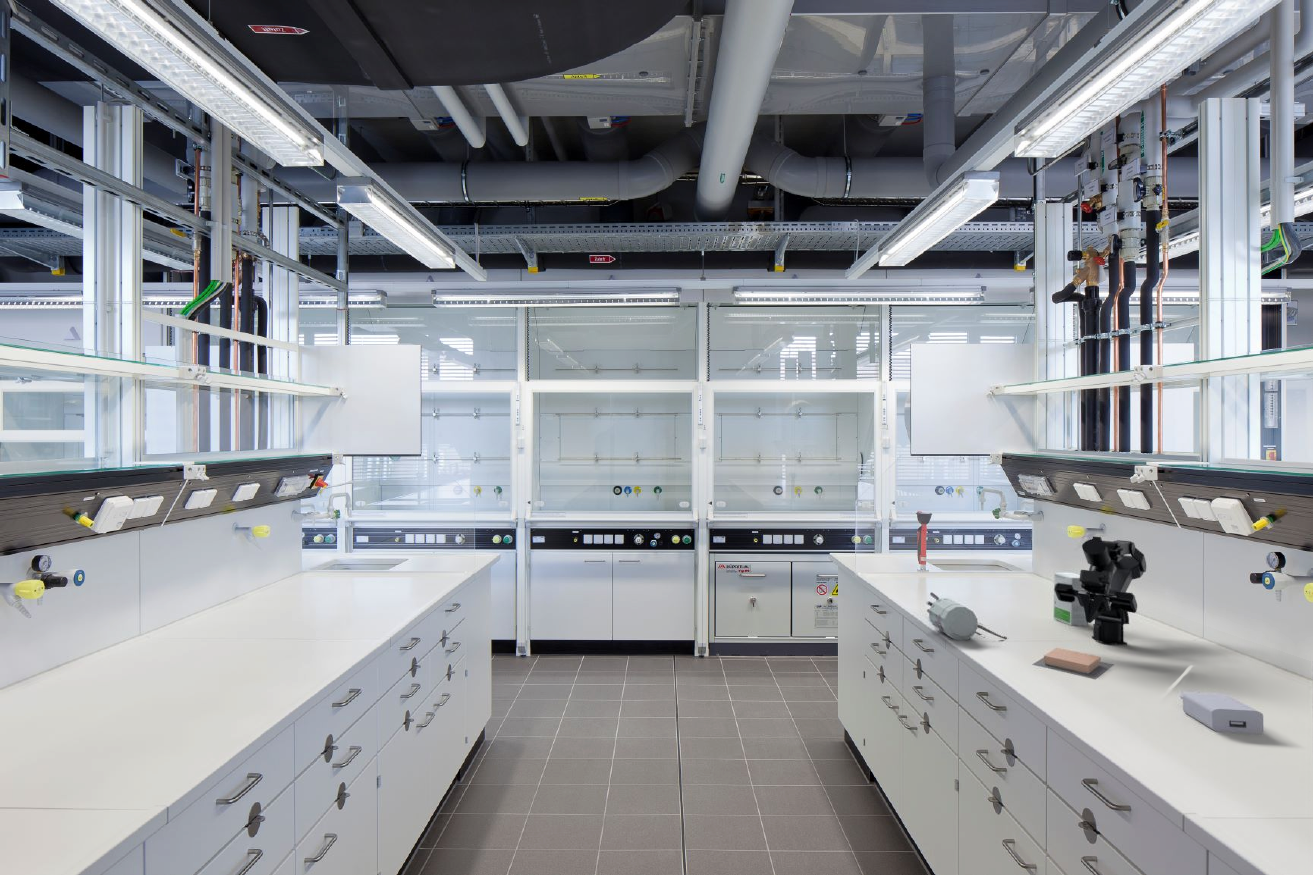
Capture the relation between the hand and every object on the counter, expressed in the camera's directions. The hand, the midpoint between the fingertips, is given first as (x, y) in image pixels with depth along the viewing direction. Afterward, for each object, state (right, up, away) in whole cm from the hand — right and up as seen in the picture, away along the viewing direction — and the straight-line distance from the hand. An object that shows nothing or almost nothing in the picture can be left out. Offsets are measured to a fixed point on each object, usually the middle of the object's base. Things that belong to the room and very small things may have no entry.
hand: (1088, 621), depth 174 cm
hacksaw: (-16, -10, +22) cm, 29 cm away
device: (-28, -10, +28) cm, 41 cm away
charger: (-1, -9, -39) cm, 40 cm away
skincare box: (+17, -10, +33) cm, 39 cm away
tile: (-7, -7, -6) cm, 11 cm away
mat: (-10, -9, -9) cm, 16 cm away
